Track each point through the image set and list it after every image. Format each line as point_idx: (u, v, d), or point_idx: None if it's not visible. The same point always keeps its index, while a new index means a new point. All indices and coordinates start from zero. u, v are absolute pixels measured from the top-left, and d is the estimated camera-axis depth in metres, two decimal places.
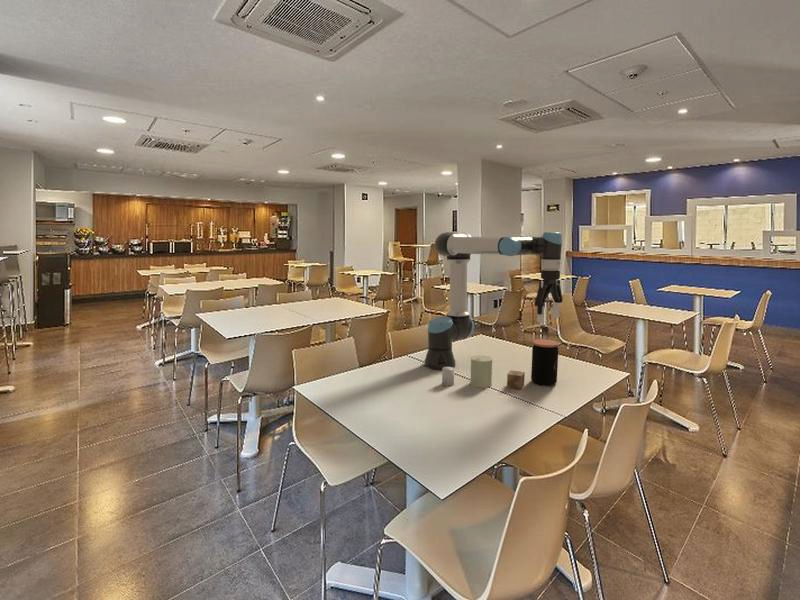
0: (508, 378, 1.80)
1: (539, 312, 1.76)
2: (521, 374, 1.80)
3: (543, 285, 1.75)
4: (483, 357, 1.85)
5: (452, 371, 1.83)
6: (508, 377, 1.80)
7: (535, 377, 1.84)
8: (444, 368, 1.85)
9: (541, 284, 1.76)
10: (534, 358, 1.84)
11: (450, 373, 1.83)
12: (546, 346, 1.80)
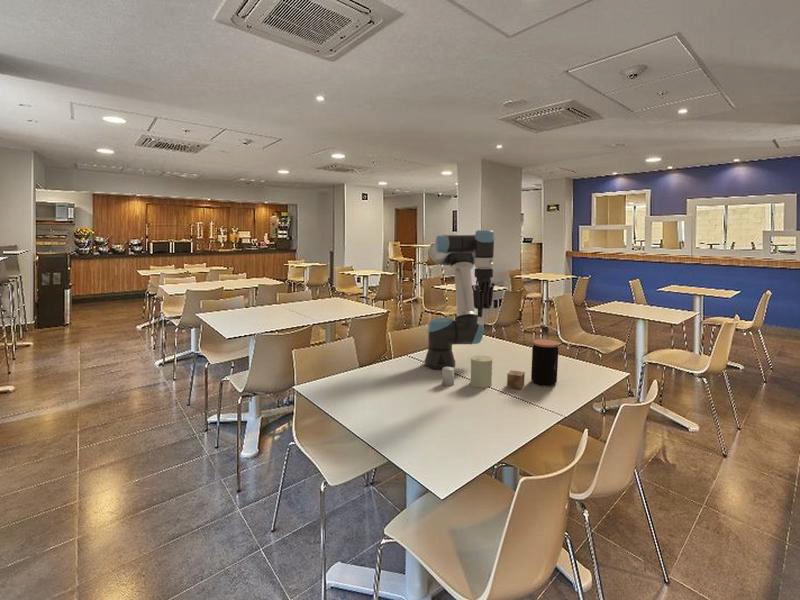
0: (508, 378, 1.80)
1: (479, 314, 1.79)
2: (521, 374, 1.80)
3: (476, 289, 1.75)
4: (483, 357, 1.85)
5: (452, 371, 1.83)
6: (508, 377, 1.80)
7: (535, 377, 1.84)
8: (444, 368, 1.85)
9: (474, 288, 1.75)
10: (534, 358, 1.84)
11: (450, 373, 1.83)
12: (546, 346, 1.80)
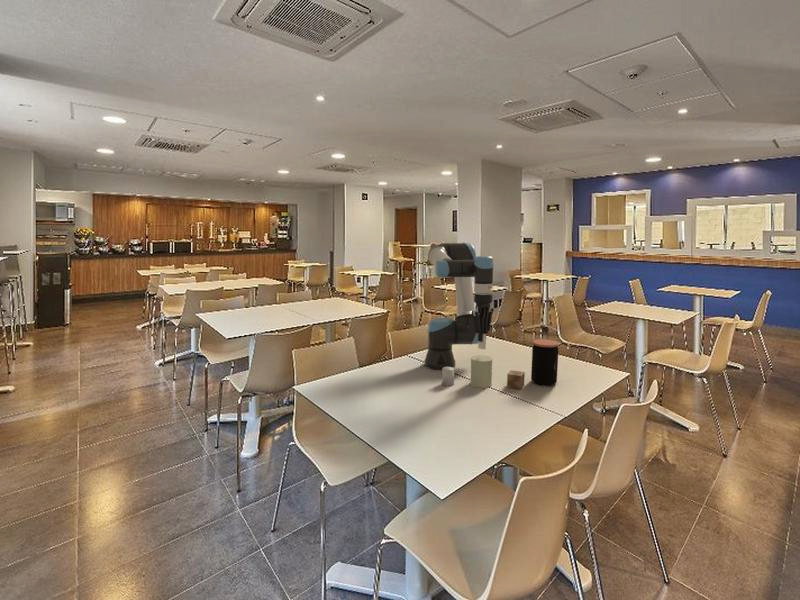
0: (508, 378, 1.80)
1: (480, 339, 1.81)
2: (521, 374, 1.80)
3: (475, 315, 1.76)
4: (483, 357, 1.85)
5: (452, 371, 1.83)
6: (508, 377, 1.80)
7: (535, 377, 1.84)
8: (444, 368, 1.85)
9: (473, 314, 1.77)
10: (534, 358, 1.84)
11: (450, 373, 1.83)
12: (546, 346, 1.80)
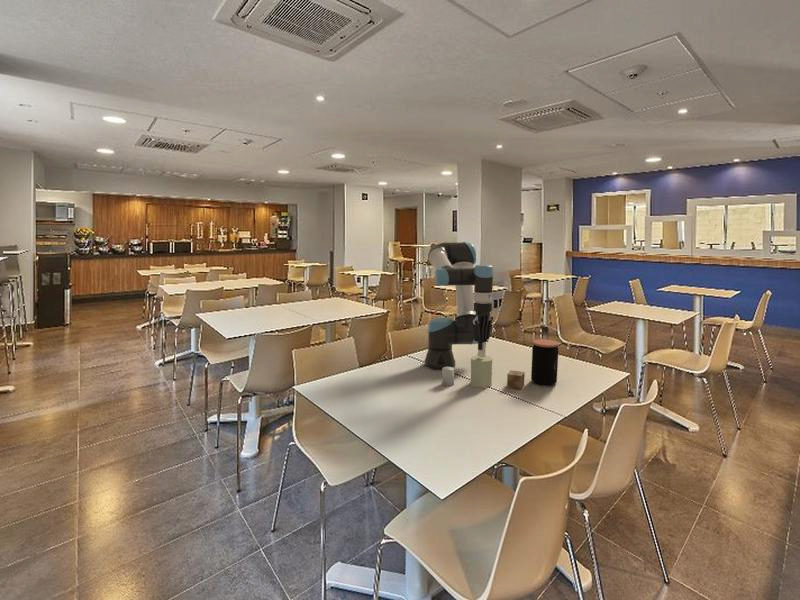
0: (508, 378, 1.80)
1: (479, 348, 1.82)
2: (521, 374, 1.80)
3: (475, 323, 1.77)
4: None
5: (452, 371, 1.83)
6: (508, 377, 1.80)
7: (535, 377, 1.84)
8: (444, 368, 1.85)
9: (473, 323, 1.77)
10: (534, 358, 1.84)
11: (450, 373, 1.83)
12: (546, 346, 1.80)
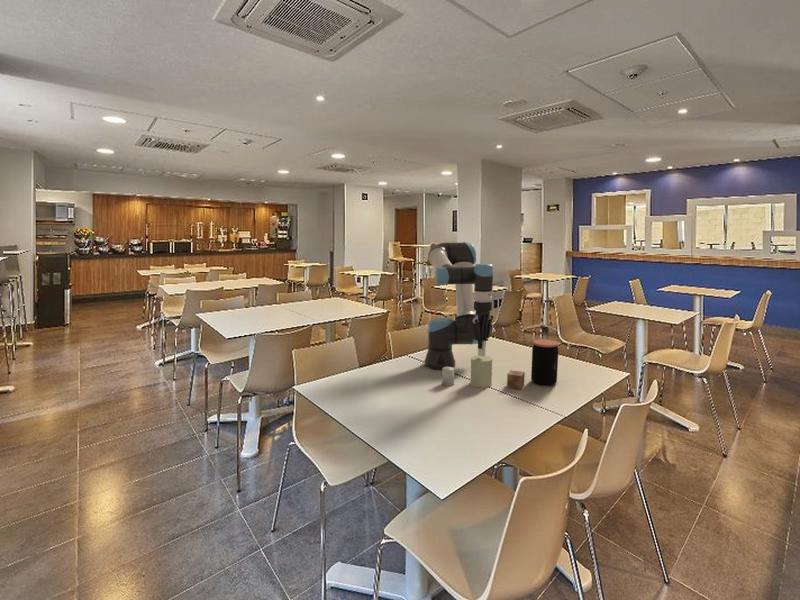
0: (508, 378, 1.80)
1: (479, 346, 1.82)
2: (521, 374, 1.80)
3: (475, 322, 1.77)
4: (483, 357, 1.85)
5: (452, 371, 1.83)
6: (508, 377, 1.80)
7: (535, 377, 1.84)
8: (444, 368, 1.85)
9: (473, 321, 1.77)
10: (534, 358, 1.84)
11: (450, 373, 1.83)
12: (546, 346, 1.80)
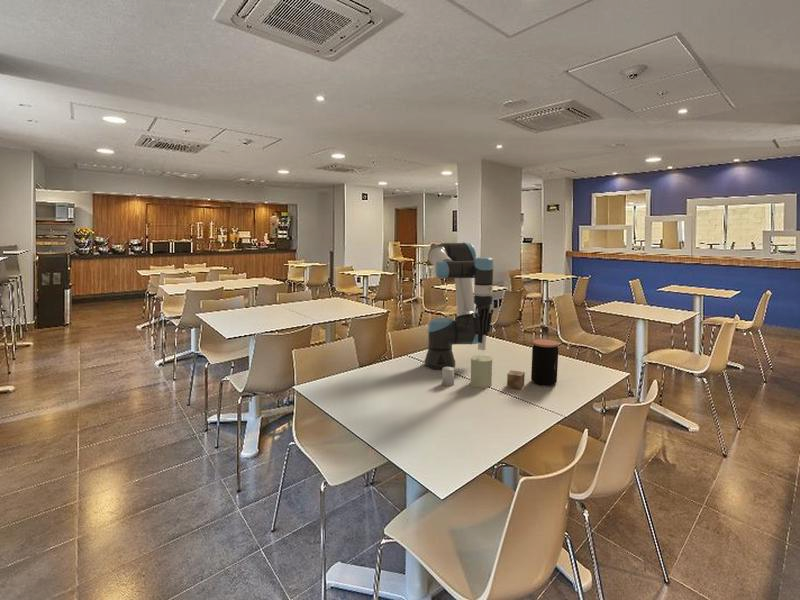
0: (508, 378, 1.80)
1: (479, 340, 1.81)
2: (521, 374, 1.80)
3: (475, 316, 1.77)
4: (483, 357, 1.85)
5: (452, 371, 1.83)
6: (508, 377, 1.80)
7: (535, 377, 1.84)
8: (444, 368, 1.85)
9: (473, 315, 1.77)
10: (534, 358, 1.84)
11: (450, 373, 1.83)
12: (546, 346, 1.80)
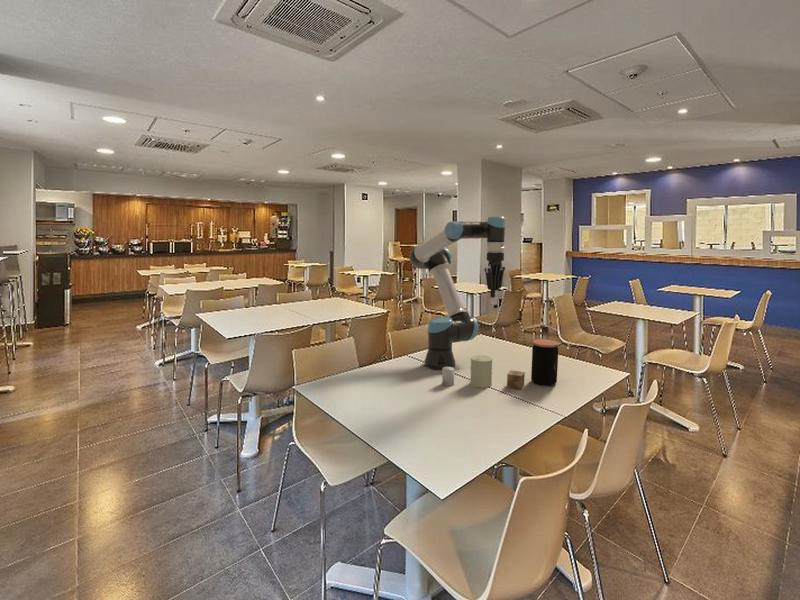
0: (508, 378, 1.80)
1: (492, 295, 1.93)
2: (521, 374, 1.80)
3: (488, 271, 1.88)
4: (483, 357, 1.85)
5: (452, 371, 1.83)
6: (508, 377, 1.80)
7: (535, 377, 1.84)
8: (444, 368, 1.85)
9: (486, 271, 1.89)
10: (534, 358, 1.84)
11: (450, 373, 1.83)
12: (546, 346, 1.80)
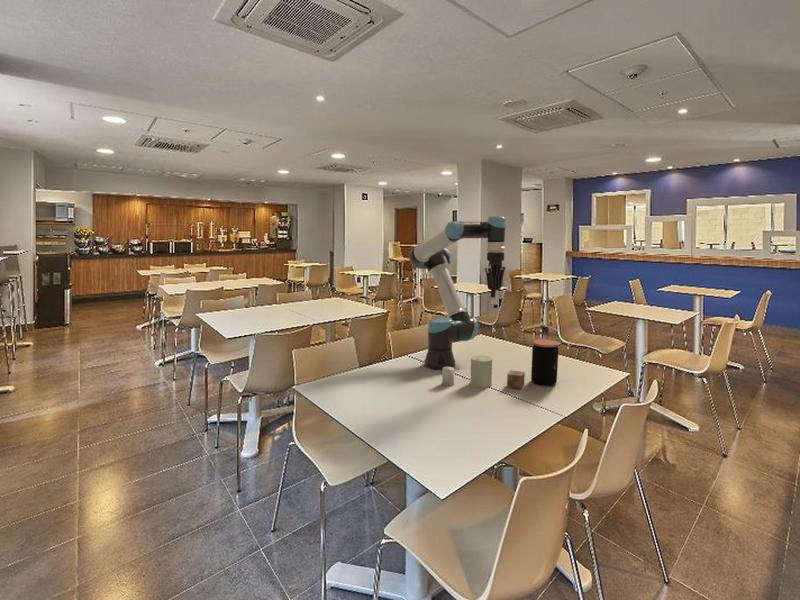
0: (508, 378, 1.80)
1: (492, 295, 1.93)
2: (521, 374, 1.80)
3: (489, 271, 1.89)
4: (483, 357, 1.85)
5: (452, 371, 1.83)
6: (508, 377, 1.80)
7: (535, 377, 1.84)
8: (444, 368, 1.85)
9: (487, 270, 1.89)
10: (534, 358, 1.84)
11: (450, 373, 1.83)
12: (546, 346, 1.80)
